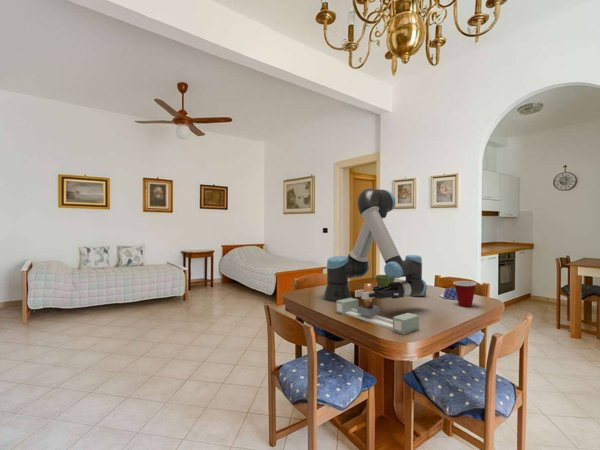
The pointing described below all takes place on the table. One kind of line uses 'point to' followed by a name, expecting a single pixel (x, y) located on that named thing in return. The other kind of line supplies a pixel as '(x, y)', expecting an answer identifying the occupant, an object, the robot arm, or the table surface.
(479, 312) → the table surface
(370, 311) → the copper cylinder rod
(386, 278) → the plant pot
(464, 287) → the plastic cup
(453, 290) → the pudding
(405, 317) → the rail board
